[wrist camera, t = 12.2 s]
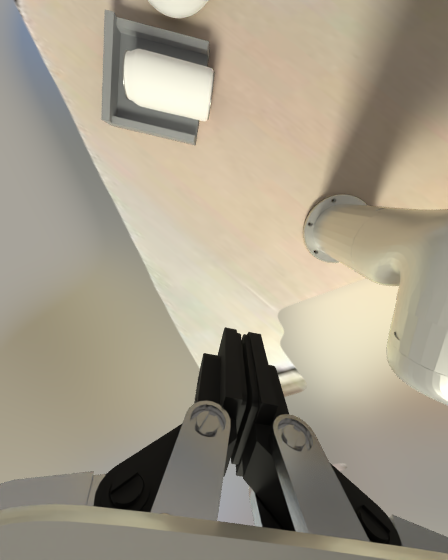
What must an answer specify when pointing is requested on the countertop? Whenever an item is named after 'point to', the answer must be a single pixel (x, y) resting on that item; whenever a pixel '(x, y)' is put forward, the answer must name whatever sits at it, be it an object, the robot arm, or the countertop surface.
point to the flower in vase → (178, 7)
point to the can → (168, 84)
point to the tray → (114, 100)
